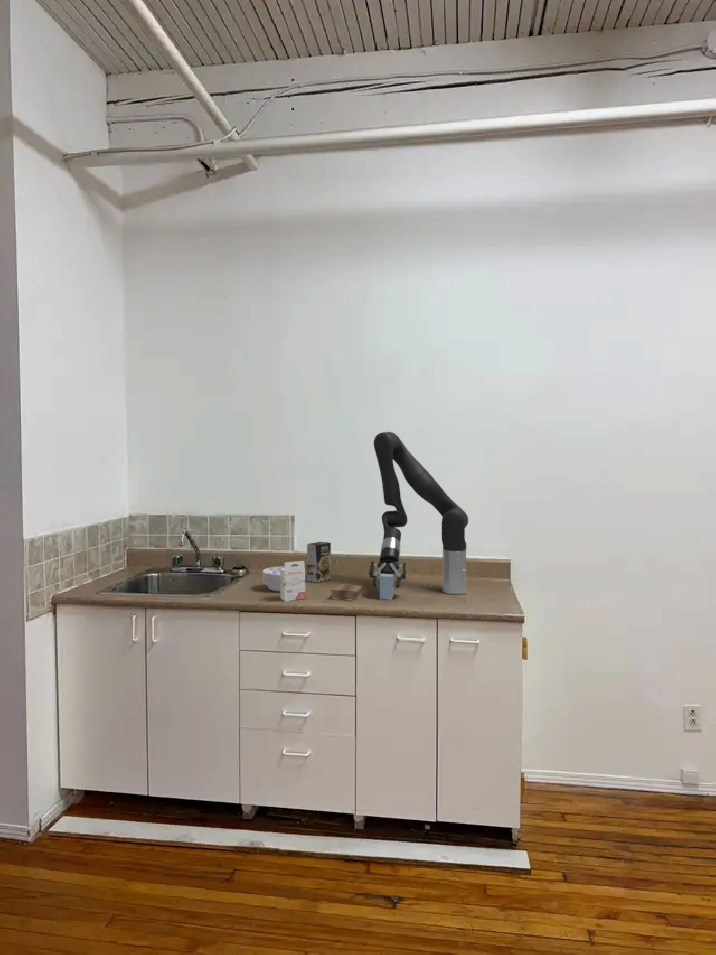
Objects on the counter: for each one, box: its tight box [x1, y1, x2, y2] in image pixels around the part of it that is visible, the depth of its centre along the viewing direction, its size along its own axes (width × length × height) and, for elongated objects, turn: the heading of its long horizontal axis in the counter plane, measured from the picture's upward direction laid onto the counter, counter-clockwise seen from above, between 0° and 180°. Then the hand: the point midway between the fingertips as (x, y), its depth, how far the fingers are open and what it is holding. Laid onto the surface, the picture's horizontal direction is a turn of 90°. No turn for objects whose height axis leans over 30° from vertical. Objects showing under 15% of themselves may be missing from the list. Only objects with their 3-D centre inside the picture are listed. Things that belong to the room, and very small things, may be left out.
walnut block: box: [330, 583, 365, 601], centre depth 259 cm, size 10×10×4 cm
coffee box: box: [306, 541, 332, 583], centre depth 288 cm, size 9×6×16 cm
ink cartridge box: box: [279, 560, 306, 602], centre depth 255 cm, size 9×5×15 cm, turn 117°
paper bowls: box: [261, 565, 285, 592], centre depth 272 cm, size 15×15×8 cm
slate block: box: [379, 574, 395, 601], centre depth 257 cm, size 5×5×9 cm
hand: (385, 586), depth 256 cm, fingers open, 8 cm apart
